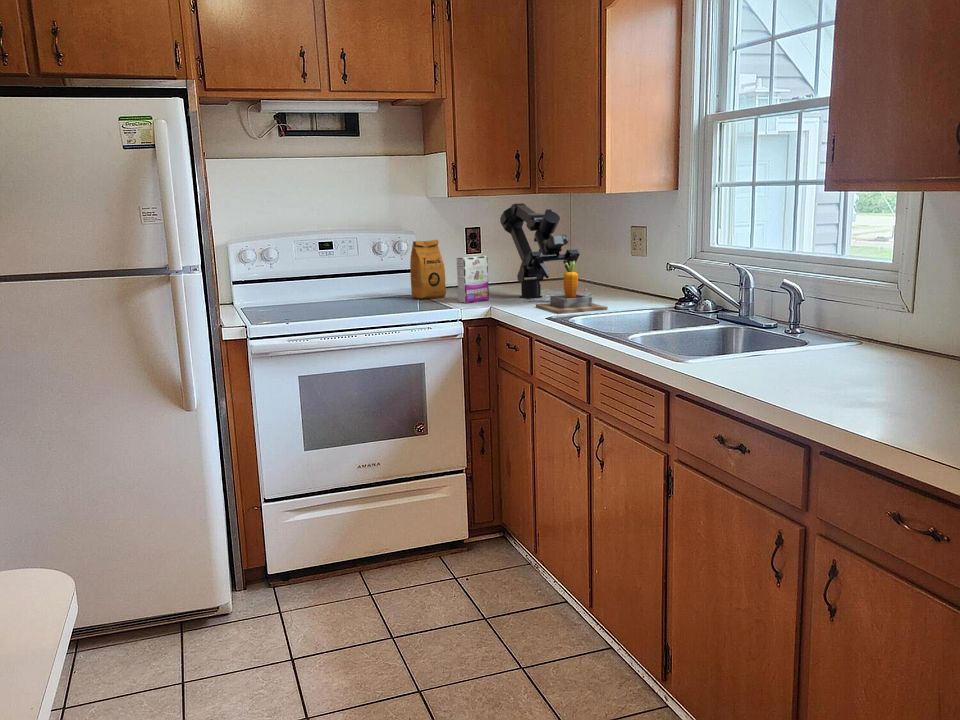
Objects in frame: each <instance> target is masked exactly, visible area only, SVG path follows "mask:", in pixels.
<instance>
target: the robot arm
mask: <svg viewBox="0 0 960 720" xmlns="http://www.w3.org/2000/svg"><path fill="white" fill-rule="evenodd" d="M500 215H501V216H500V219H499V220H500V224H501V226H502V228H503V230H504V231H505V232H507V233H508V234H510V236H511V238H512V241H513V244H514V245H515V248H516V250H517V252H518V255H519V258H520V261H521V262H520V266H519V271H518V272H517V275H516V276H517V282H521V284H520V285H521V295H519V298H524V299H537V298H543V295H541V293H542V290H541V287H542V285H541V283H540V281H541V282H543V281H544V278H546V279H549V277H550V276H549V272H548V270H547V268H546V265H545V264H544V263H545V262H560V261H561V262H563V264H564V268H565V270H566V272H569V271H568V268H567V266H566V265H565V263H568V265H569V266H570V267H571V265H572V263H573V261H575V264H576V263H577V261H578V259H579V256H580V254H581V253H580V252H579V250H578V249H576V248H573V249H566V251H565V253H562V254H561V253H560V252H562V250H563V249H562V247H563V246H566V245H567V244H568V243H569V238H568V236H567V234H561V235H553V233H555V231H556V229H557V227H558V224H559V223H560V219H561V217H560V215H559V214H558V213H556V212H554V211H552V209H545V211H544V213H539V212H535V211H534V210H533V209H531V208H530V207H529V206H527V205H526V203H522V202H520V203H513V204H511V206H510V207H508V208H507V209H505V210H503V212H502V214H500ZM524 223H526V225H525V226H526V228H527V229H528V230H529V231H530V232H534V237H533V242H534V243H537V245H538V248H539V249H538V251H533V250H532V248H531V245H530V243H529V241H528V238H527V236H526V234H525V232H524V229H523V225H524Z"/></svg>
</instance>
